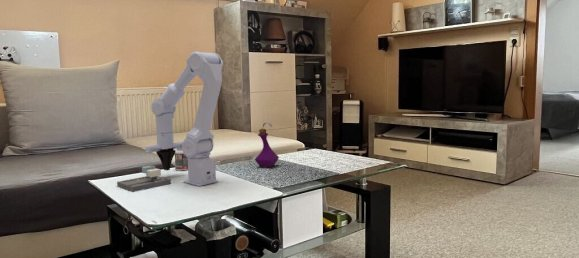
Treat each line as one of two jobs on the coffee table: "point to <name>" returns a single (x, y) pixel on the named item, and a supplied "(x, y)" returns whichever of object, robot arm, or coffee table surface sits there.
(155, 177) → the cream fader
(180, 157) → the pill bottle
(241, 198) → the coffee table surface
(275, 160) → the perfume bottle
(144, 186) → the mixer panel
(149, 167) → the teal fader
